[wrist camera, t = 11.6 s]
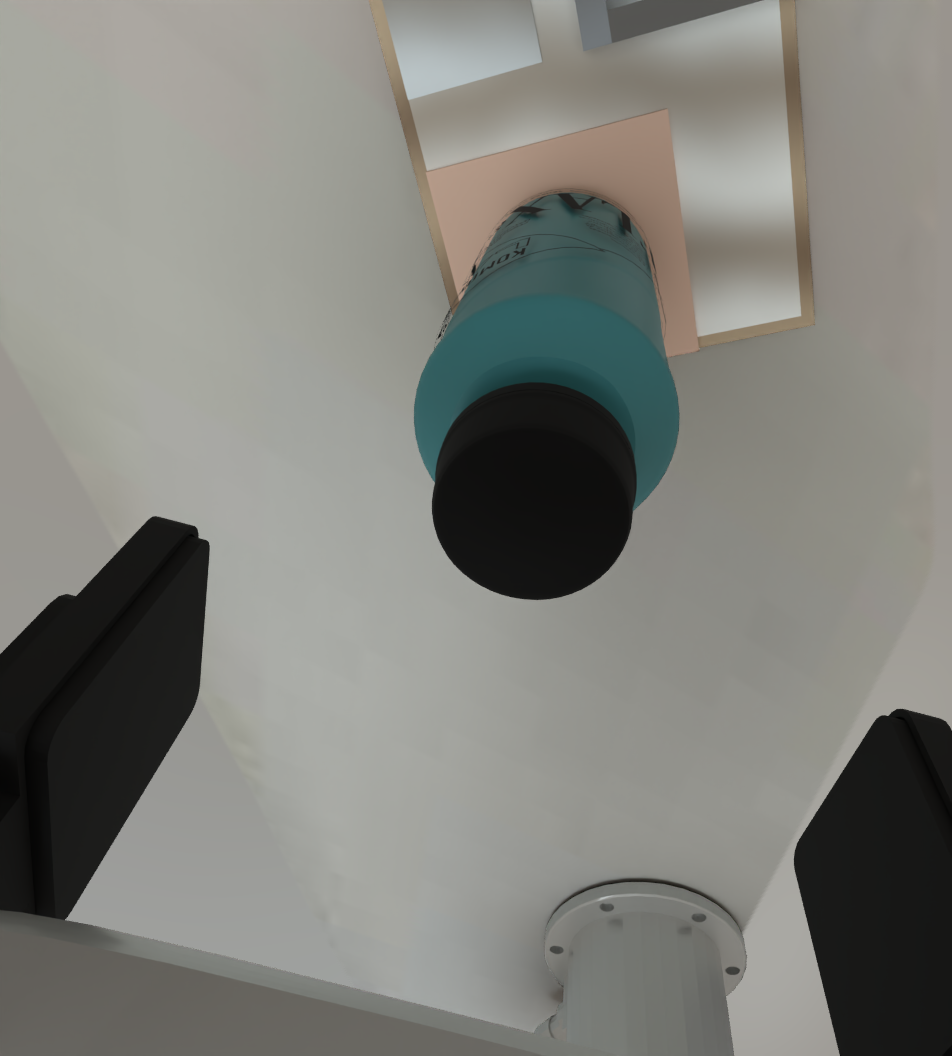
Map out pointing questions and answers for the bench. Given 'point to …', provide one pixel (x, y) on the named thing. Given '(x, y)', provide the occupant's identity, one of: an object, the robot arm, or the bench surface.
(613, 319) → the beverage bottle
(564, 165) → the terracotta square
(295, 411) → the bench surface
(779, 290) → the wooden tray
